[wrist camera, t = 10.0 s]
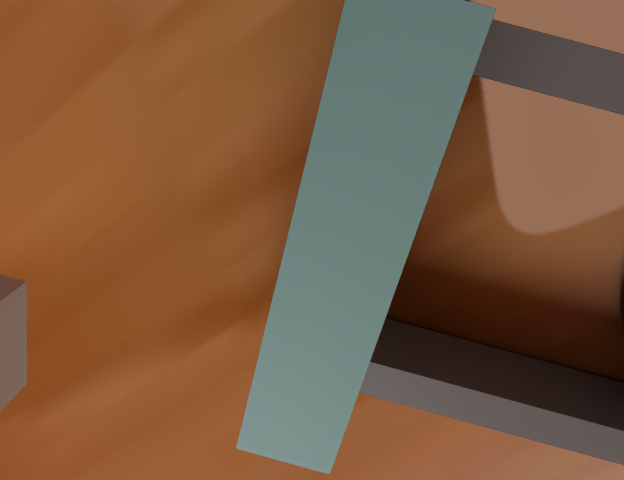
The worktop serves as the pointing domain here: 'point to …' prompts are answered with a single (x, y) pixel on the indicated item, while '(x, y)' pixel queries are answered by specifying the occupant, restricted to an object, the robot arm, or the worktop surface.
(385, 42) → the gray open tray
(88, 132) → the worktop surface
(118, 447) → the worktop surface
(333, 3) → the worktop surface
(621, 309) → the supplement container
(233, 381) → the worktop surface
